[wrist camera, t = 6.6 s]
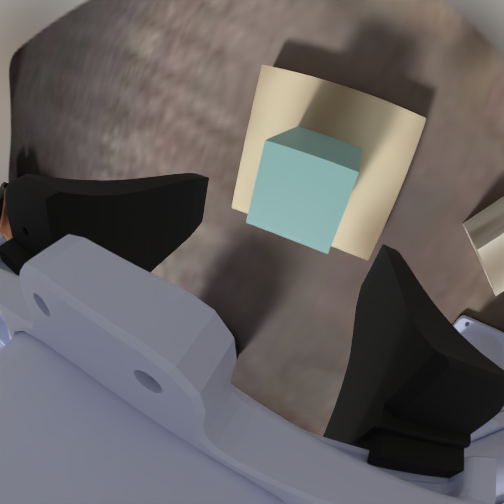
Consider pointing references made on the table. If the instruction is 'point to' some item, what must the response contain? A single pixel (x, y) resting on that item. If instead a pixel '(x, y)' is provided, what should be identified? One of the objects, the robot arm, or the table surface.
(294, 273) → the table surface
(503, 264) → the cream cube
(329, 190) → the teal block
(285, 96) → the cream square slab
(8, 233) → the rusty metal shackles
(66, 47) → the table surface
